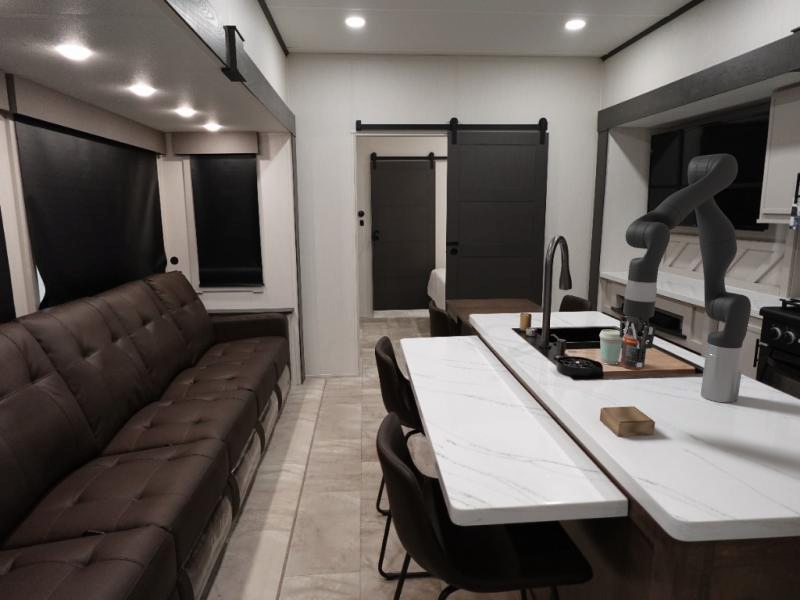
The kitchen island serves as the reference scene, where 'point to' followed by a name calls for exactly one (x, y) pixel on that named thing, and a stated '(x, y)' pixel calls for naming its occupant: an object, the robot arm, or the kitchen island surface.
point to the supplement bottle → (630, 352)
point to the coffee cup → (610, 346)
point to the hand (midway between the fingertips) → (632, 358)
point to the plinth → (627, 421)
